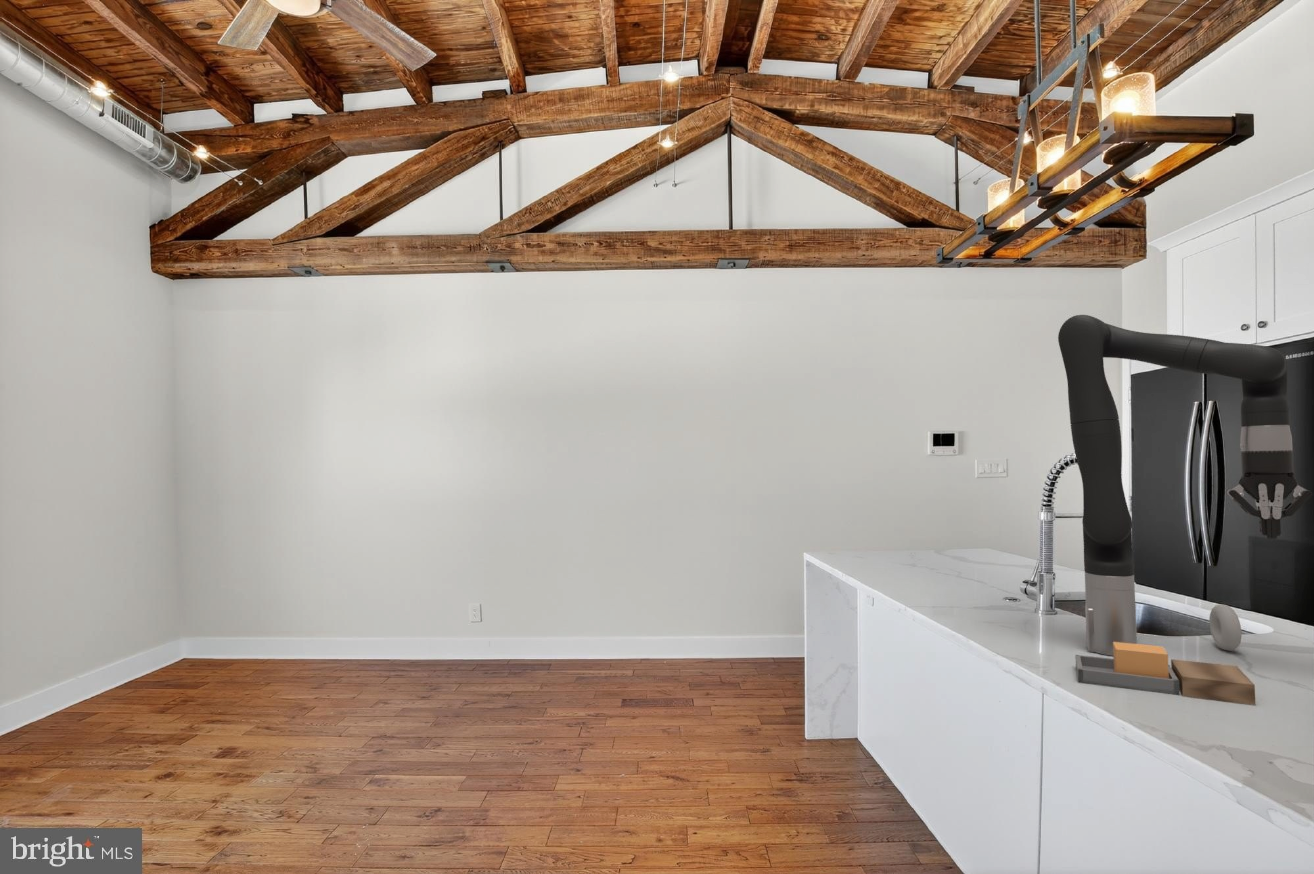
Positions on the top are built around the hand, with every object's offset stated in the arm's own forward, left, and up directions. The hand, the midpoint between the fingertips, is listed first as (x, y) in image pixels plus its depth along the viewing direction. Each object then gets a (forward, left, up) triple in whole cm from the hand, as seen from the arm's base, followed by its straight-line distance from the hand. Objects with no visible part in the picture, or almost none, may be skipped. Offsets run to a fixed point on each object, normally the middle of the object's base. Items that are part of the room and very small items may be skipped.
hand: (1270, 538), depth 132 cm
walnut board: (-12, -14, -27) cm, 33 cm away
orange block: (-19, -14, -23) cm, 34 cm away
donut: (-4, +20, -27) cm, 34 cm away
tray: (-26, -14, -27) cm, 40 cm away
